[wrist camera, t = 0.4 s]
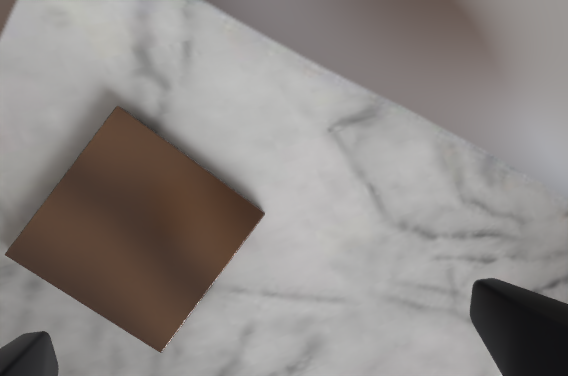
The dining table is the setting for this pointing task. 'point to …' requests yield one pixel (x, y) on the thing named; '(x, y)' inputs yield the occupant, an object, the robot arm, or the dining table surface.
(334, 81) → the dining table surface
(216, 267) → the coaster
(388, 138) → the dining table surface
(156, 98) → the dining table surface
